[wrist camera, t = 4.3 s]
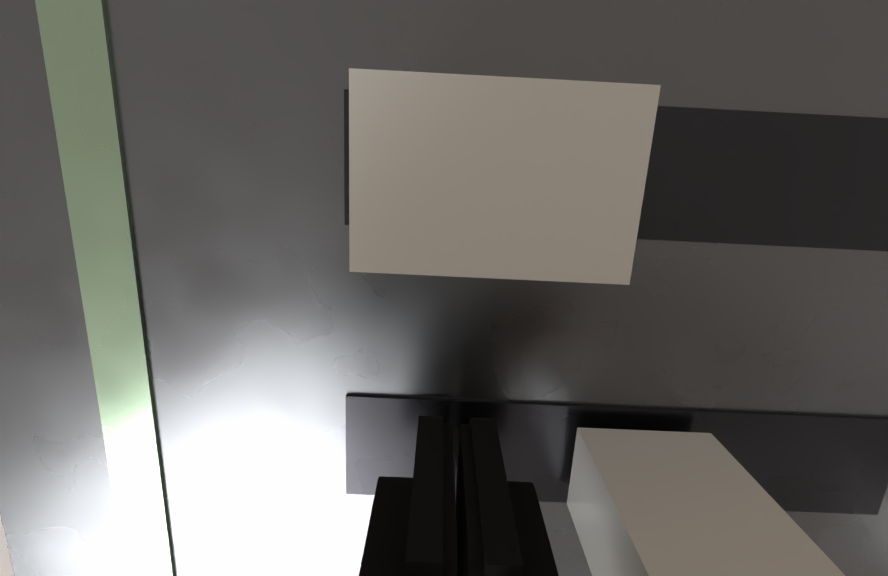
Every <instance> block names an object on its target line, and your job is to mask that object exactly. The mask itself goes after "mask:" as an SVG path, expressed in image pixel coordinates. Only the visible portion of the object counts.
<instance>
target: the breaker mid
mask: <svg viewBox="0 0 888 576" xmlns="http://www.w3.org/2000/svg"><path fill="white" fill-rule="evenodd" d="M567 505H568V508H569V511H570V514H571V517H572V520H573V523H574V525H575V528H576V531H577V534H578V537H579V540H580V543H581V545H582V548H583V551H584V554H585V557H586V560H587V563H588V565H589V568H590V571H591V574H592V576H845V575H844V573H843V572H842V571H841V570H840V569H839V568H838V567H837V566H836V565H835V564H834V563H833V562H832V561H831V560H830V559H829V558H828V557H827V555H826V554H825V553H824V552H823V551H822V550H821V549H820V548H819V547H818V546H817V545H816V544H815V543H814V542H813V541H812V540H811V538H810V537H809V536H808V535H807V534H806V533H805V532H804V531H803V530H802V529H801V528H800V527H799V526H798V525H797V524H796V523H795V522H794V520H793V519H792V518H791V517H790V516H789V515H788V514H787V513H786V512H785V511H784V510H783V509H782V508H781V507H780V506H779V505H778V504H777V502H776V501H775V500H774V499H773V498H772V497H771V496H770V495H769V494H768V493H767V492H766V491H765V490H764V489H763V488H762V487H761V485H760V484H759V483H758V482H757V481H756V480H755V479H754V478H753V477H752V476H751V475H750V474H749V473H748V472H747V471H746V470H745V469H744V467H743V466H742V465H741V464H740V463H739V462H738V461H737V460H736V459H735V458H734V457H733V456H732V455H731V454H730V453H729V452H728V451H727V449H726V448H725V447H724V446H723V445H722V444H721V443H720V442H719V441H718V440H717V439H716V438H715V437H714V436H713V435H712V434H711V433H697V432H674V431H650V430H626V429H602V428H578V427H577V433H576V440H575V448H574V455H573V462H572V469H571V476H570V484H569V491H568V498H567Z"/></svg>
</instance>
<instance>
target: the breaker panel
mask: <svg viewBox="0 0 888 576" xmlns="http://www.w3.org/2000/svg"><path fill="white" fill-rule="evenodd" d="M349 68H355V69H373V70H392V71H410V72H429V73H447V74H466V75H484V76H503V77H522V78H540V79H559V80H577V81H596V82H614V83H633V84H651V85H661V87H660V94H659V100H658V106H657V113H656V119H655V126H654V132H653V138H652V145H651V151H650V157H649V164H648V170H647V176H646V183H645V189H644V196H643V202H642V208H641V215H640V221H639V227H638V234H637V240H636V246H635V253H634V259H633V266H632V272H631V278H630V285H621V284H600V283H579V282H558V281H536V280H515V279H494V278H473V277H451V276H430V275H409V274H388V273H366V272H349ZM419 416H443V423H451V424H453V444H454V473H455V498H456V482H457V465H458V449H459V433H460V424H469V421H470V418H494V419H495V420H496V425H497V430H498V435H499V441H500V446H501V451H502V456H503V461H504V467H505V472H506V477H507V481H517V482H532V483H533V484H534V487H535V490H536V493H537V497H538V501H539V504H540V508H541V512H542V515H543V519H544V523H545V527H546V530H547V534H548V538H549V541H550V545H551V549H552V552H553V556H554V560H555V563H556V567H557V571H558V575H559V576H592V574H591V571H590V568H589V565H588V563H587V560H586V557H585V554H584V551H583V548H582V545H581V543H580V540H579V537H578V534H577V531H576V528H575V525H574V523H573V520H572V517H571V514H570V511H569V508H568V505H567V498H568V491H569V484H570V476H571V469H572V462H573V455H574V448H575V440H576V433H577V427H578V428H602V429H626V430H650V431H674V432H697V433H711V434H712V435H713V436H714V437H715V438H716V439H717V440H718V441H719V442H720V443H721V444H722V445H723V446H724V447H725V448H726V449H727V451H728V452H729V453H730V454H731V455H732V456H733V457H734V458H735V459H736V460H737V461H738V462H739V463H740V464H741V465H742V466H743V467H744V469H745V470H746V471H747V472H748V473H749V474H750V475H751V476H752V477H753V478H754V479H755V480H756V481H757V482H758V483H759V484H760V485H761V487H762V488H763V489H764V490H765V491H766V492H767V493H768V494H769V495H770V496H771V497H772V498H773V499H774V500H775V501H776V502H777V504H778V505H779V506H780V507H781V508H782V509H783V510H784V511H785V512H786V513H787V514H788V515H789V516H790V517H791V518H792V519H793V520H794V522H795V523H796V524H797V525H798V526H799V527H800V528H801V529H802V530H803V531H804V532H805V533H806V534H807V535H808V536H809V537H810V538H811V540H812V541H813V542H814V543H815V544H816V545H817V546H818V547H819V548H820V549H821V550H822V551H823V552H824V553H825V554H826V555H827V557H828V558H829V559H830V560H831V561H832V562H833V563H834V564H835V565H836V566H837V567H838V568H839V569H840V570H841V571H842V572H843V573H844V575H845V576H888V0H0V516H1V521H2V525H3V529H4V534H5V538H6V542H7V547H8V551H9V555H10V559H11V564H12V568H13V572H14V576H359V571H360V566H361V561H362V556H363V551H364V546H365V541H366V536H367V531H368V526H369V521H370V516H371V511H372V506H373V501H374V496H375V491H376V486H377V481H378V478H379V476H386V477H412V478H413V473H414V462H415V451H416V440H417V429H418V418H419Z"/></svg>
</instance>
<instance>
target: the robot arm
mask: <svg viewBox="0 0 888 576" xmlns="http://www.w3.org/2000/svg"><path fill="white" fill-rule="evenodd" d="M359 576H559V575H558V571H557V567H556V563H555V560H554V556H553V552H552V549H551V545H550V541H549V538H548V534H547V530H546V527H545V523H544V519H543V515H542V512H541V508H540V504H539V501H538V497H537V493H536V490H535V487H534V484H533V483H532V482H517V481H507V477H506V472H505V467H504V461H503V456H502V451H501V446H500V441H499V435H498V430H497V425H496V420H495V419H494V418H470V421H469V424H460V433H459V449H458V465H457V482H456V498H455V473H454V444H453V424H451V423H443V416H419V418H418V429H417V440H416V451H415V462H414V473H413V478H412V477H386V476H379V478H378V481H377V486H376V491H375V496H374V501H373V506H372V511H371V516H370V521H369V526H368V531H367V536H366V541H365V546H364V551H363V556H362V561H361V566H360V571H359Z"/></svg>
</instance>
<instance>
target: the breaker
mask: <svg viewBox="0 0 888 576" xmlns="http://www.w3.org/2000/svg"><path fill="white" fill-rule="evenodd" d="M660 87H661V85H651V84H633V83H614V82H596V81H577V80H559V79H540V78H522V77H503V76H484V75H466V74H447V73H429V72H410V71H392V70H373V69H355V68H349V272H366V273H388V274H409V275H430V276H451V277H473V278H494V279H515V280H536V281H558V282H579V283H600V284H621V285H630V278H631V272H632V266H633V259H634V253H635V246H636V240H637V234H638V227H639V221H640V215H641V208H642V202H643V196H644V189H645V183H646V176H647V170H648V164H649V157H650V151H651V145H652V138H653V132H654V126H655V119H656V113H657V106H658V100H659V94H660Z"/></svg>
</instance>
